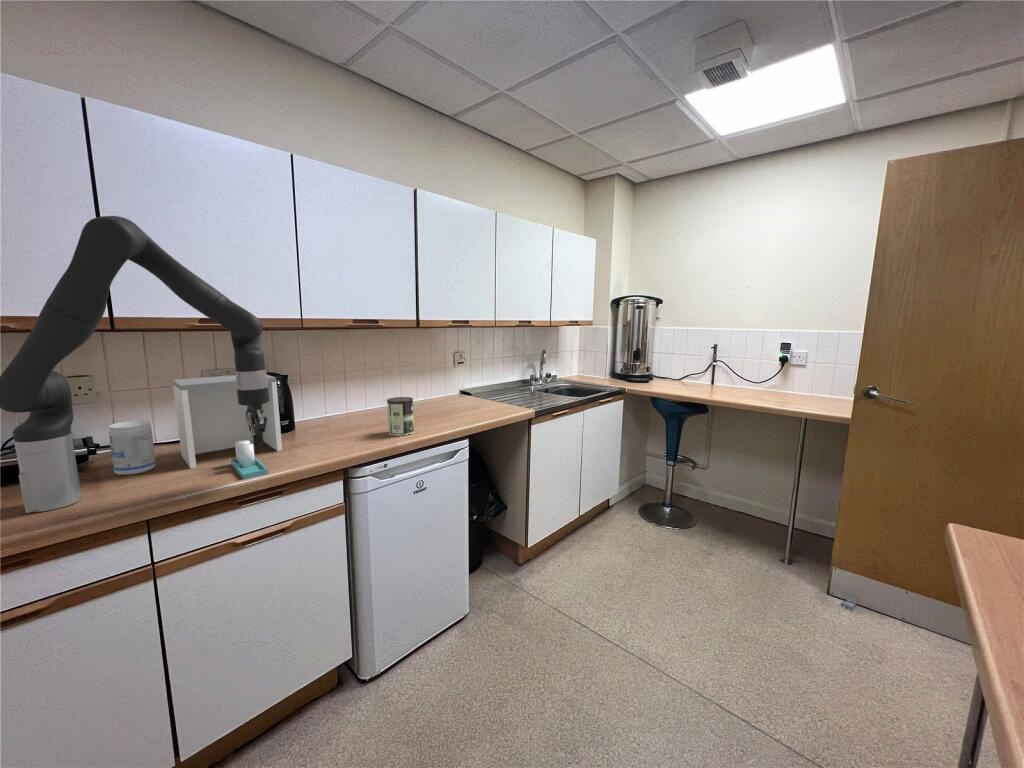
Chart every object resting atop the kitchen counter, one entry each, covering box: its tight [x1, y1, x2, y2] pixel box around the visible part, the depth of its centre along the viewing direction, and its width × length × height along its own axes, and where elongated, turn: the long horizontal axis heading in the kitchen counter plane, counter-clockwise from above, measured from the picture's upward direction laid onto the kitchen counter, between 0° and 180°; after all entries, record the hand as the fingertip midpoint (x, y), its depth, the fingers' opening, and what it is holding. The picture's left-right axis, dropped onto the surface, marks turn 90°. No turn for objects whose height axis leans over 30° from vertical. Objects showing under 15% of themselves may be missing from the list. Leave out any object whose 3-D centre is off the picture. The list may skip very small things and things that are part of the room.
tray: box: [230, 440, 269, 480], centre depth 127 cm, size 18×6×8 cm, turn 43°
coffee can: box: [386, 396, 415, 437], centre depth 169 cm, size 10×10×14 cm
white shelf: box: [172, 374, 283, 469], centre depth 142 cm, size 26×18×26 cm
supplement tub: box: [108, 420, 156, 476], centre depth 126 cm, size 10×10×15 cm
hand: (258, 446), depth 118 cm, fingers closed
